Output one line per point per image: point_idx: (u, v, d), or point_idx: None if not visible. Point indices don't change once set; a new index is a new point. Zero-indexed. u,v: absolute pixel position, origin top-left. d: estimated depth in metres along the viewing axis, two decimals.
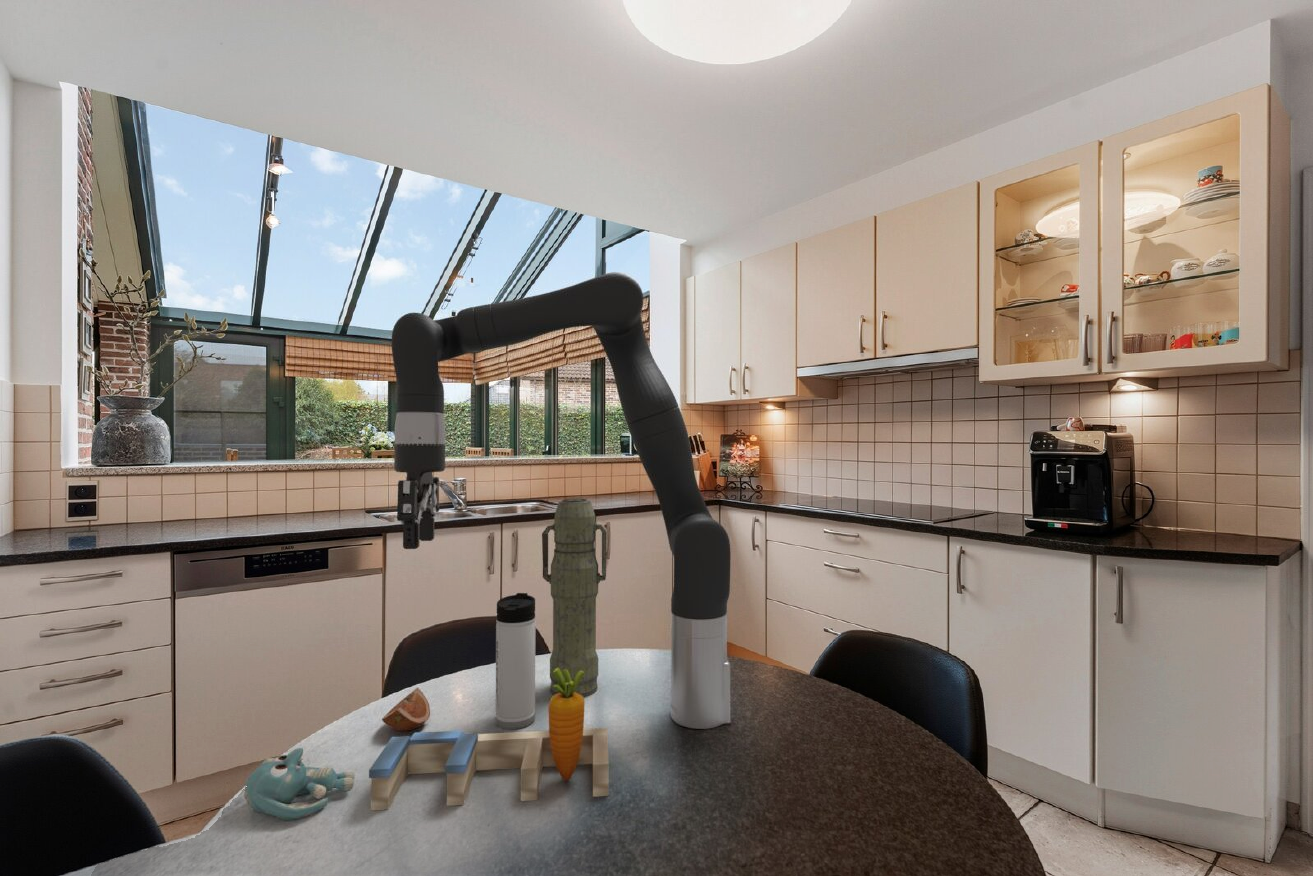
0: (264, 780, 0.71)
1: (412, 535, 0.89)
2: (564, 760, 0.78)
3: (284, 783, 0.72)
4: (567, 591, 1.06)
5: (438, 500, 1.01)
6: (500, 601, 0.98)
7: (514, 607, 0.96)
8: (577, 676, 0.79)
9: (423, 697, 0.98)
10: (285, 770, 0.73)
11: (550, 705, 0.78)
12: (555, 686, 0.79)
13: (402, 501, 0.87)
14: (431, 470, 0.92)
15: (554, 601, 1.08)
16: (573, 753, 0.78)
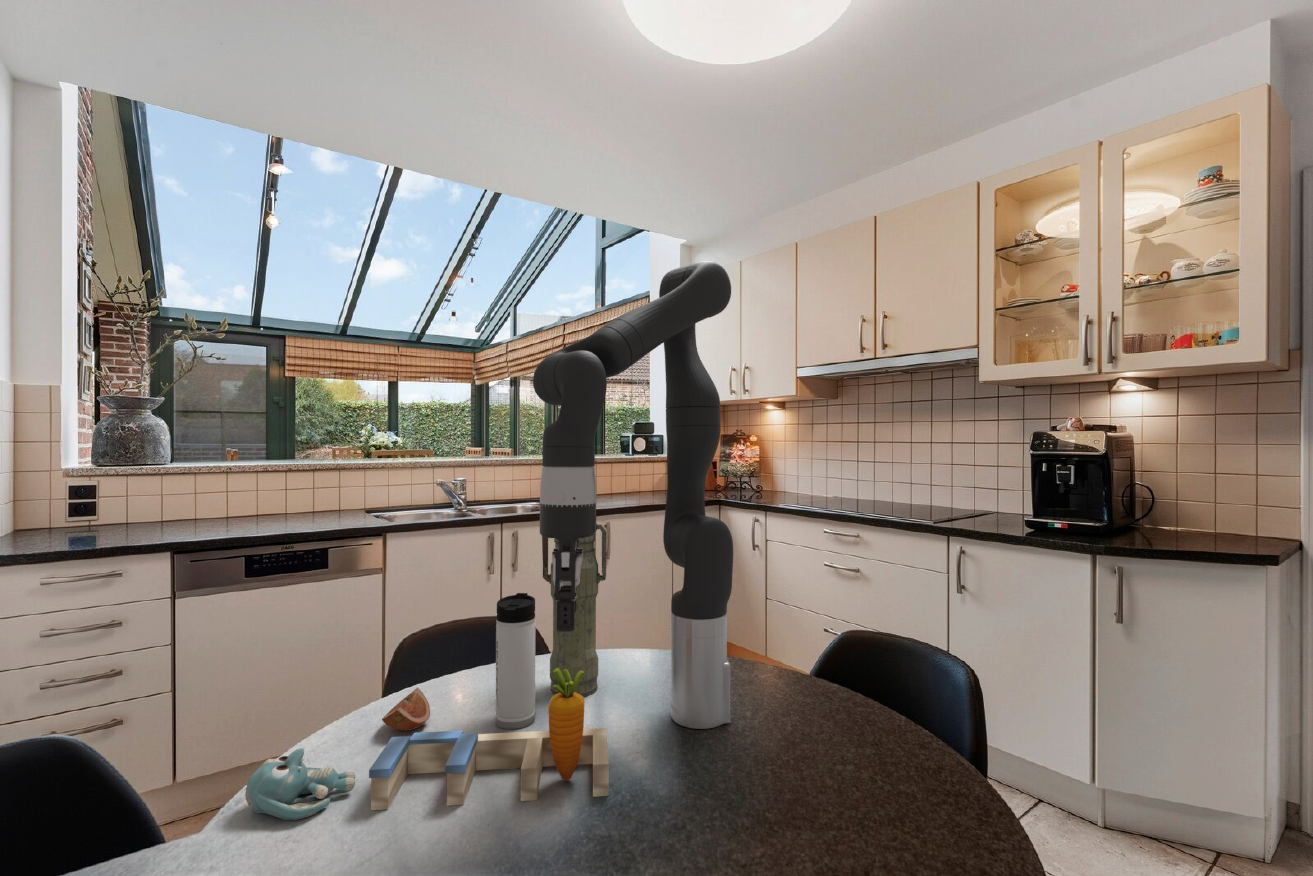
0: (266, 781, 0.71)
1: (568, 616, 0.75)
2: (564, 760, 0.78)
3: (286, 784, 0.71)
4: None
5: None
6: (500, 601, 0.98)
7: (514, 607, 0.96)
8: (577, 676, 0.79)
9: (423, 697, 0.98)
10: (287, 770, 0.72)
11: (550, 705, 0.78)
12: (555, 686, 0.79)
13: (561, 577, 0.73)
14: (585, 536, 0.78)
15: (554, 601, 1.08)
16: (573, 753, 0.78)
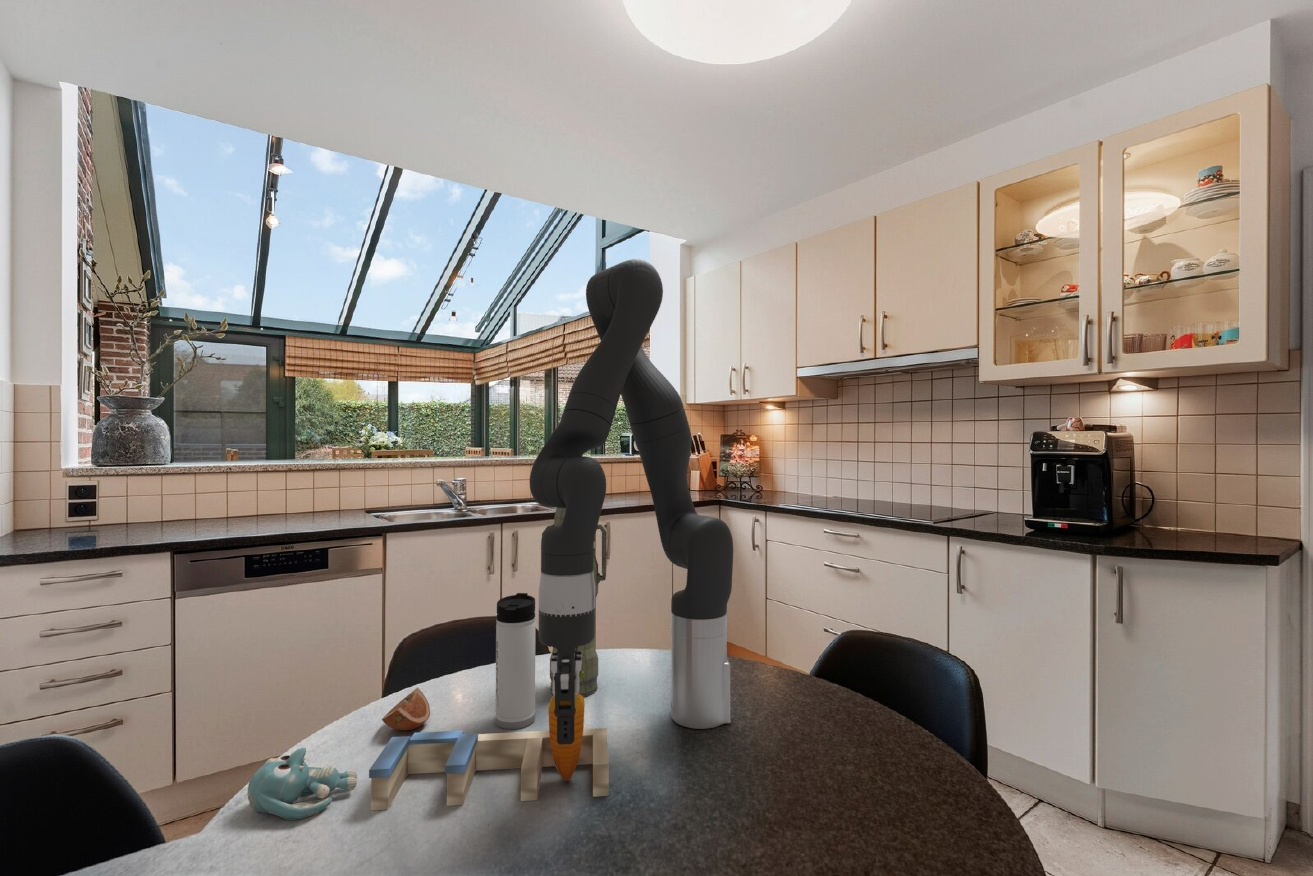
0: (267, 780, 0.71)
1: (568, 730, 0.76)
2: (564, 760, 0.78)
3: (288, 783, 0.72)
4: None
5: None
6: (500, 601, 0.98)
7: (514, 607, 0.96)
8: None
9: (423, 697, 0.98)
10: (289, 770, 0.73)
11: (550, 705, 0.78)
12: None
13: (560, 698, 0.73)
14: (585, 644, 0.77)
15: None
16: (573, 753, 0.78)
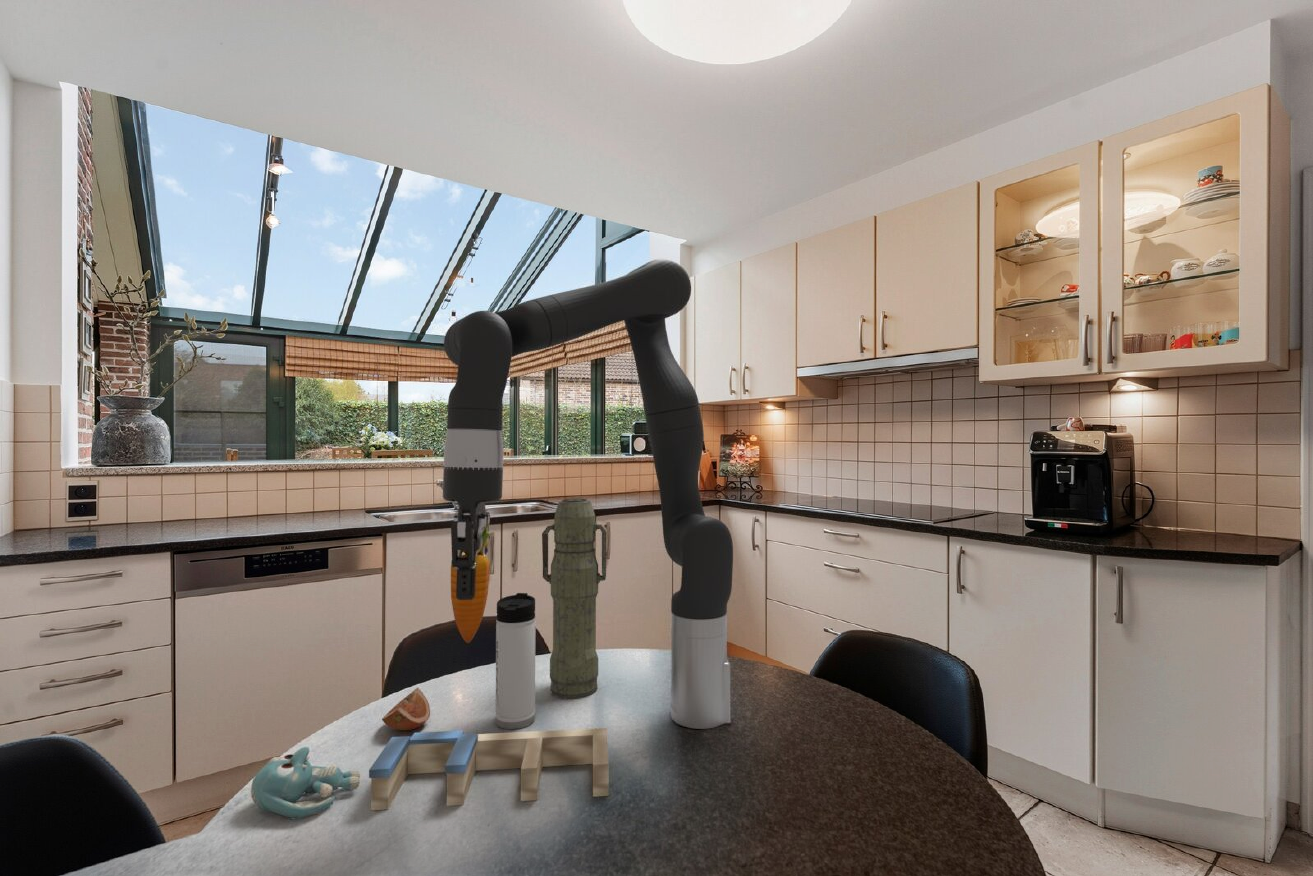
0: (271, 779, 0.71)
1: (467, 584, 0.75)
2: (464, 618, 0.76)
3: (291, 782, 0.72)
4: (566, 591, 1.06)
5: None
6: (500, 601, 0.98)
7: (514, 607, 0.96)
8: None
9: (423, 697, 0.98)
10: (292, 769, 0.73)
11: None
12: None
13: (457, 547, 0.72)
14: (488, 499, 0.76)
15: (554, 601, 1.08)
16: (474, 612, 0.77)
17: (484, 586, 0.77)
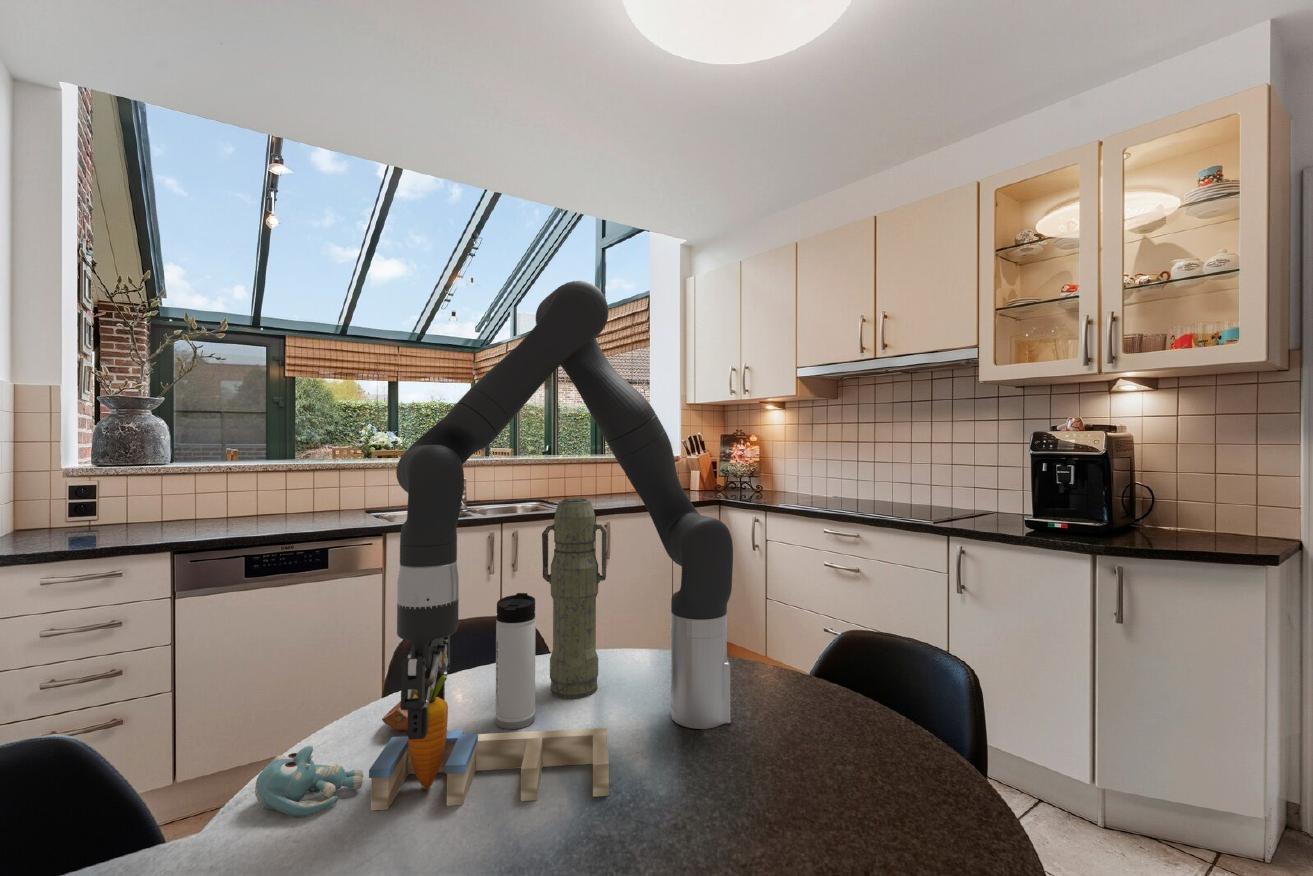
0: (274, 777, 0.72)
1: (418, 724, 0.72)
2: (422, 767, 0.76)
3: (294, 781, 0.72)
4: (566, 591, 1.06)
5: (449, 655, 0.84)
6: (500, 601, 0.98)
7: (514, 607, 0.96)
8: (439, 681, 0.78)
9: None
10: (295, 767, 0.73)
11: None
12: (414, 692, 0.77)
13: (407, 686, 0.71)
14: (442, 637, 0.75)
15: (554, 601, 1.08)
16: (432, 760, 0.76)
17: (442, 733, 0.77)
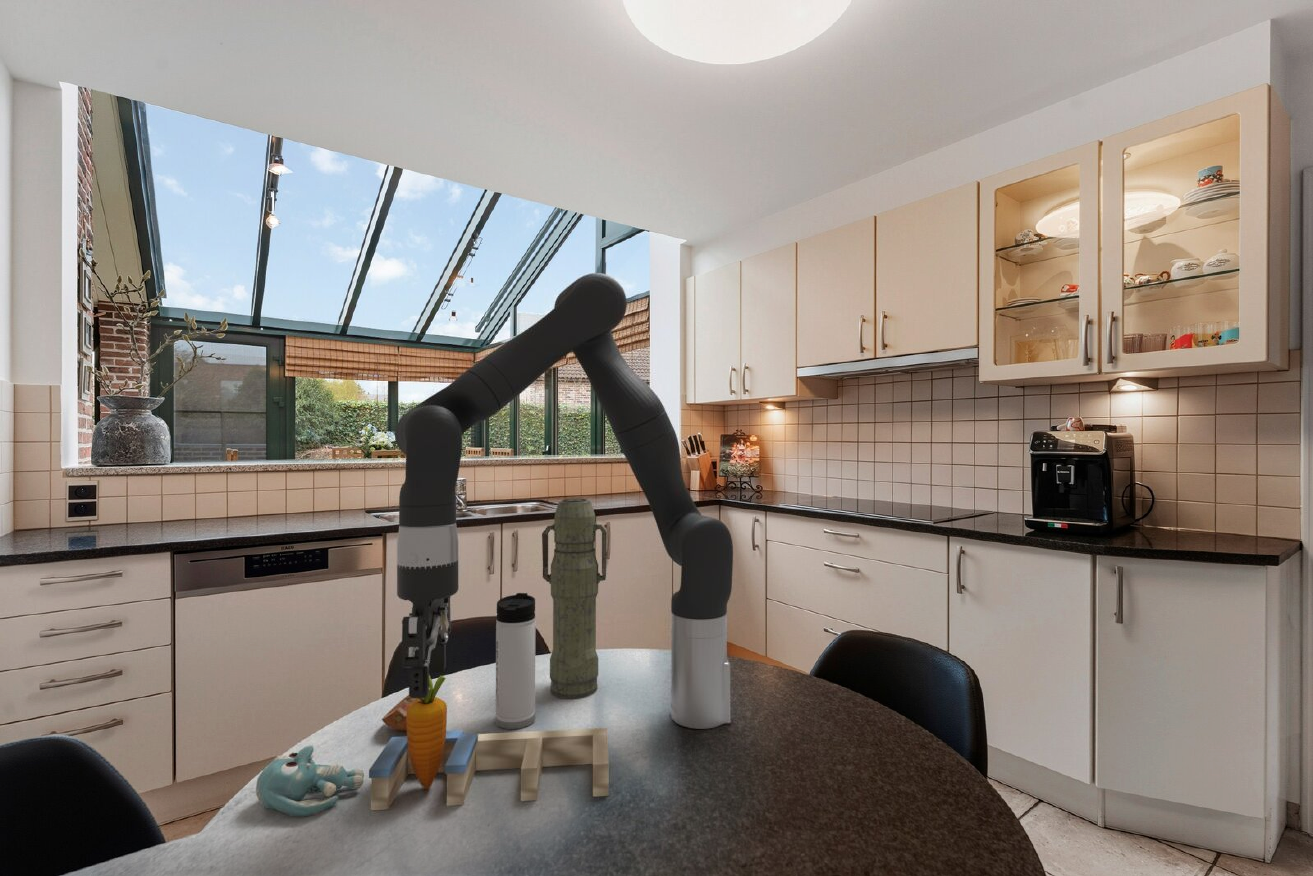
0: (275, 777, 0.72)
1: (420, 683, 0.72)
2: (421, 768, 0.76)
3: (294, 780, 0.72)
4: (567, 591, 1.06)
5: (449, 619, 0.84)
6: (500, 601, 0.98)
7: (514, 607, 0.96)
8: (437, 681, 0.78)
9: None
10: (296, 767, 0.73)
11: (408, 712, 0.76)
12: None
13: (408, 644, 0.71)
14: (442, 597, 0.75)
15: (554, 601, 1.08)
16: (431, 760, 0.76)
17: (441, 733, 0.77)
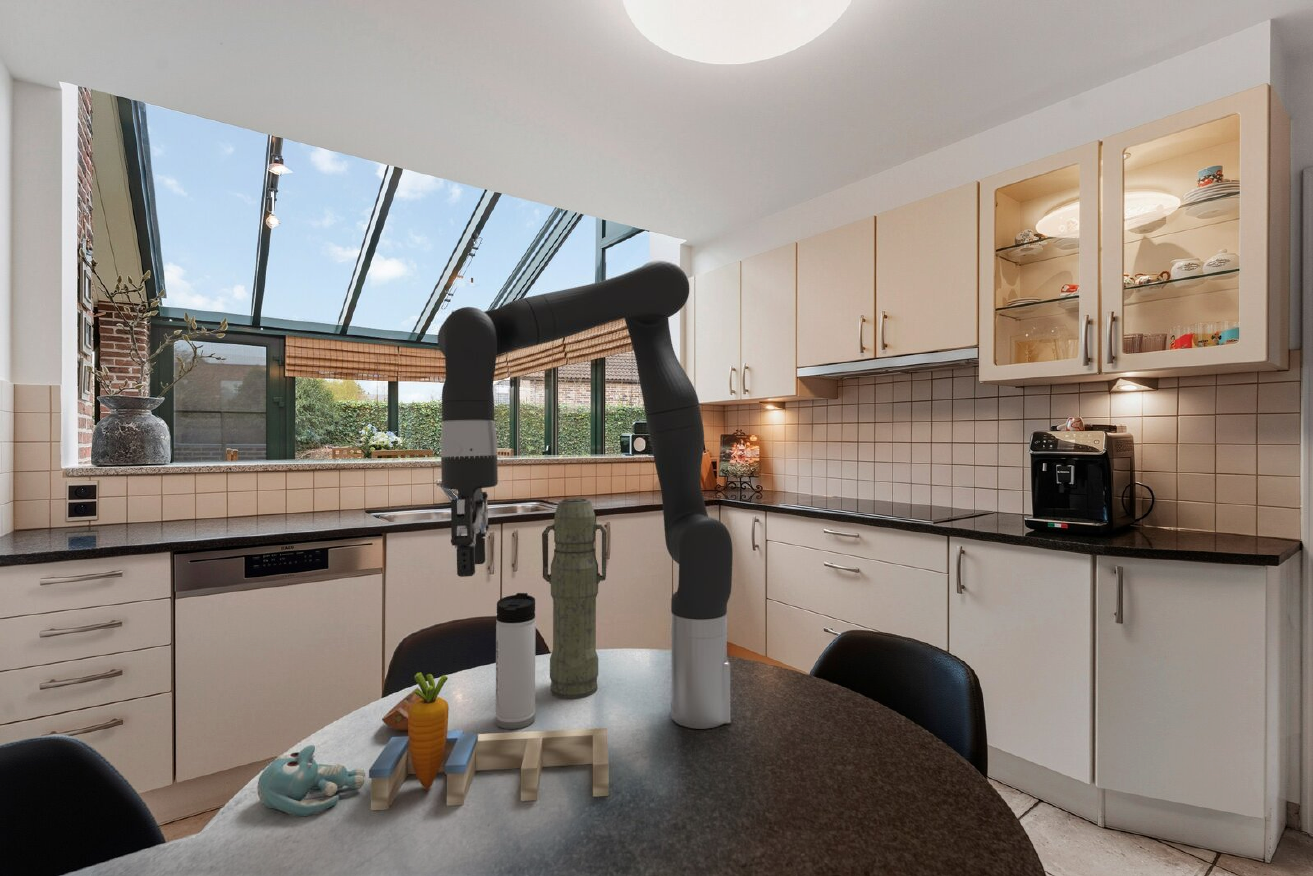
0: (276, 777, 0.72)
1: (467, 561, 0.78)
2: (422, 767, 0.76)
3: (296, 780, 0.72)
4: (566, 591, 1.06)
5: None
6: (500, 601, 0.98)
7: (514, 607, 0.96)
8: (440, 681, 0.78)
9: None
10: (297, 767, 0.73)
11: (410, 711, 0.76)
12: (415, 691, 0.77)
13: (456, 523, 0.76)
14: (485, 485, 0.81)
15: (554, 601, 1.08)
16: (432, 760, 0.76)
17: (442, 733, 0.77)
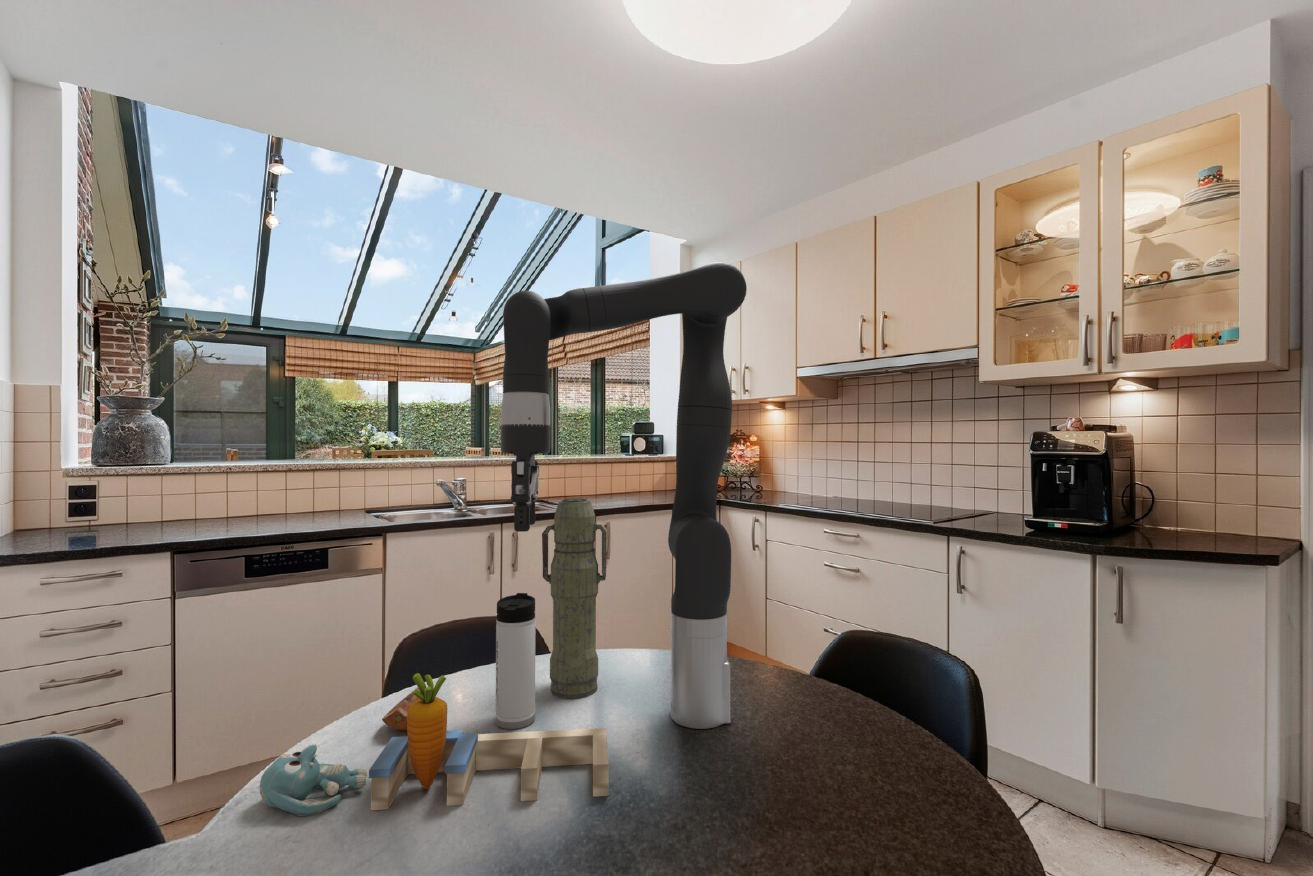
0: (278, 776, 0.72)
1: (524, 517, 0.87)
2: (421, 767, 0.76)
3: (298, 779, 0.72)
4: (566, 591, 1.06)
5: None
6: (500, 601, 0.98)
7: (514, 607, 0.96)
8: (438, 681, 0.78)
9: None
10: (299, 766, 0.73)
11: (408, 711, 0.76)
12: (414, 692, 0.77)
13: (516, 482, 0.85)
14: (540, 451, 0.90)
15: (554, 601, 1.08)
16: (432, 760, 0.76)
17: (441, 733, 0.77)
